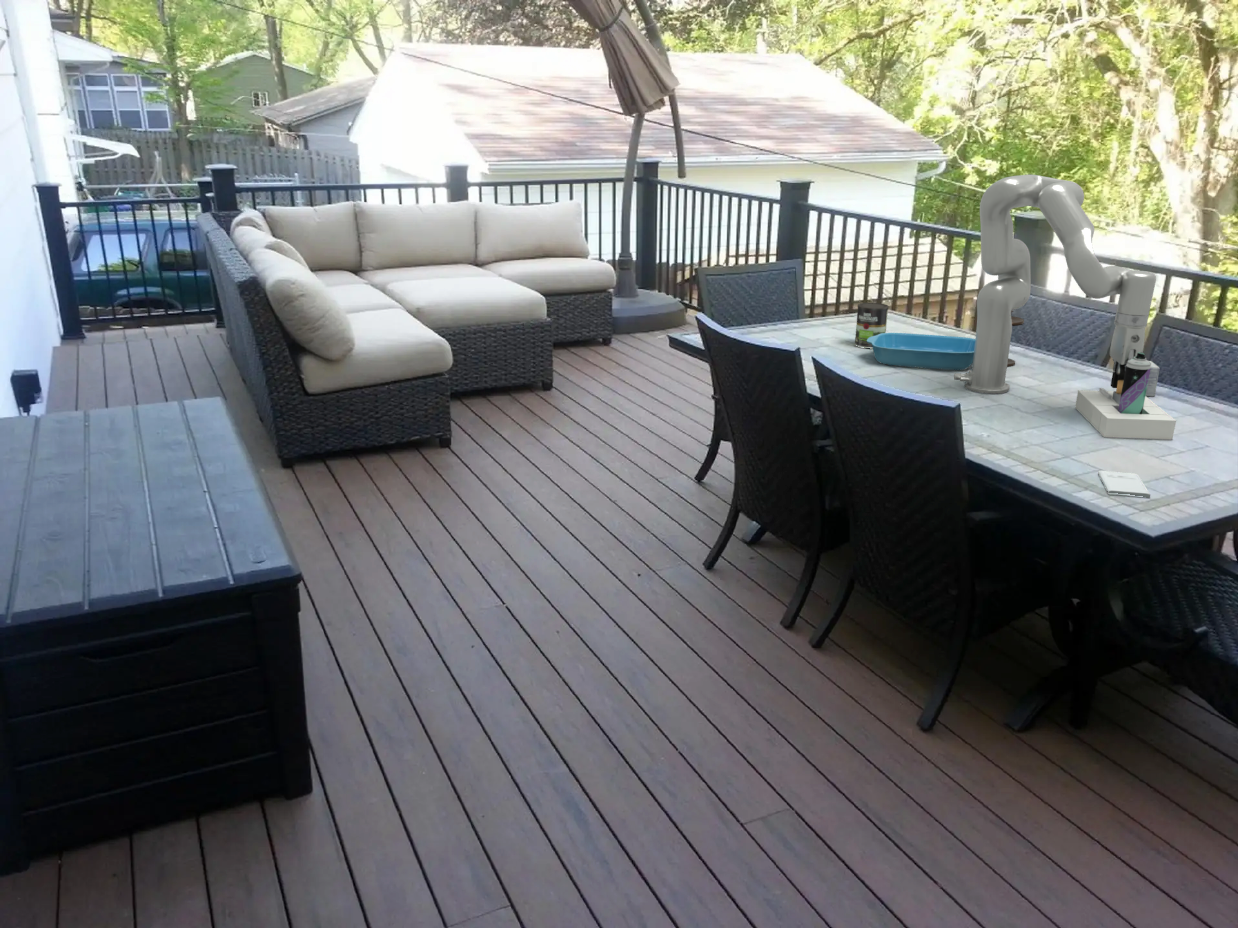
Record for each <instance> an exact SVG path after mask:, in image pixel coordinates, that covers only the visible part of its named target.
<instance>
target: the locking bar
mask: <svg viewBox="0 0 1238 928" xmlns="http://www.w3.org/2000/svg"><path fill="white" fill-rule="evenodd" d="M1123 381H1124V380H1118V383H1117V388H1115V389H1116V390H1115V391H1114V390H1113V391H1114V392H1113V398H1112V399H1113V400H1115V401H1116V402H1117V403H1118V404H1119V403H1120V397H1121V392H1122V387H1123Z"/></svg>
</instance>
